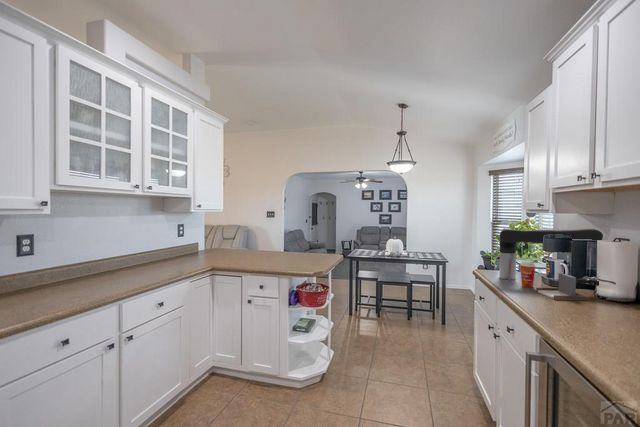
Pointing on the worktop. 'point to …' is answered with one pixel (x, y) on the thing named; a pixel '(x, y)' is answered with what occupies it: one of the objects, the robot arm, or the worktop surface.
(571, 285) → the grey open angular piece
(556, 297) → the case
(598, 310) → the worktop surface
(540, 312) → the worktop surface
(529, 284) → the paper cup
